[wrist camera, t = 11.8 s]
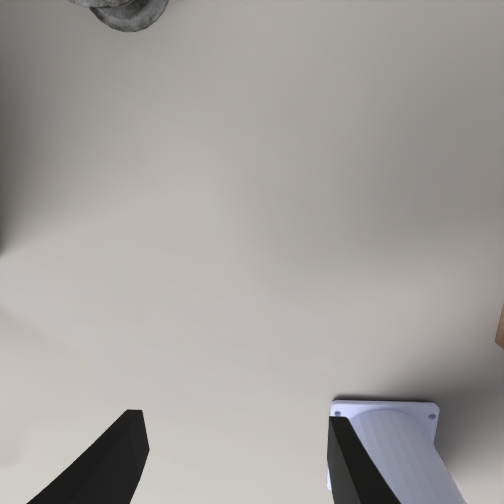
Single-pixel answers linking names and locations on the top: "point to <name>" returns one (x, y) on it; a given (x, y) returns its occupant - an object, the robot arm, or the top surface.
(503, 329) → the socket block
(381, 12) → the top surface
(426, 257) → the top surface
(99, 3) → the salt shaker
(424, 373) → the top surface
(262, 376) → the top surface
